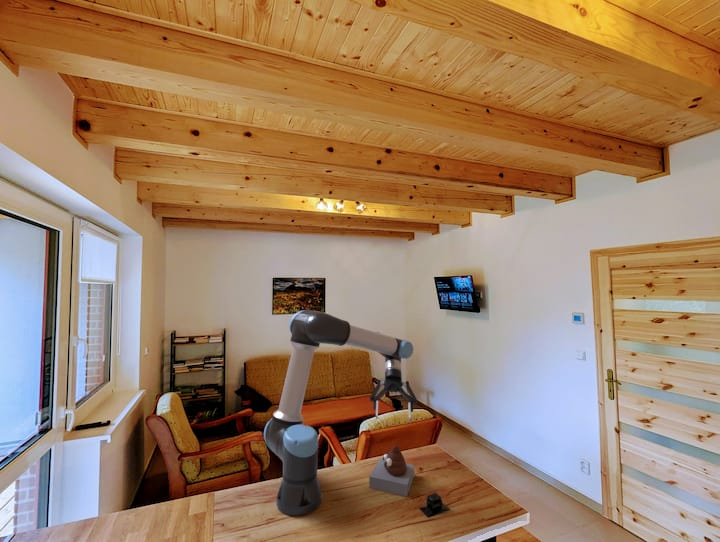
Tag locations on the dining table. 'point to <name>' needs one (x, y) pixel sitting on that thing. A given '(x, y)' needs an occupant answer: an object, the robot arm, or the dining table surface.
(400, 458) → the poop emoji
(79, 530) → the dining table surface
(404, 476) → the grey block
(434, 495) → the black mounting bracket
